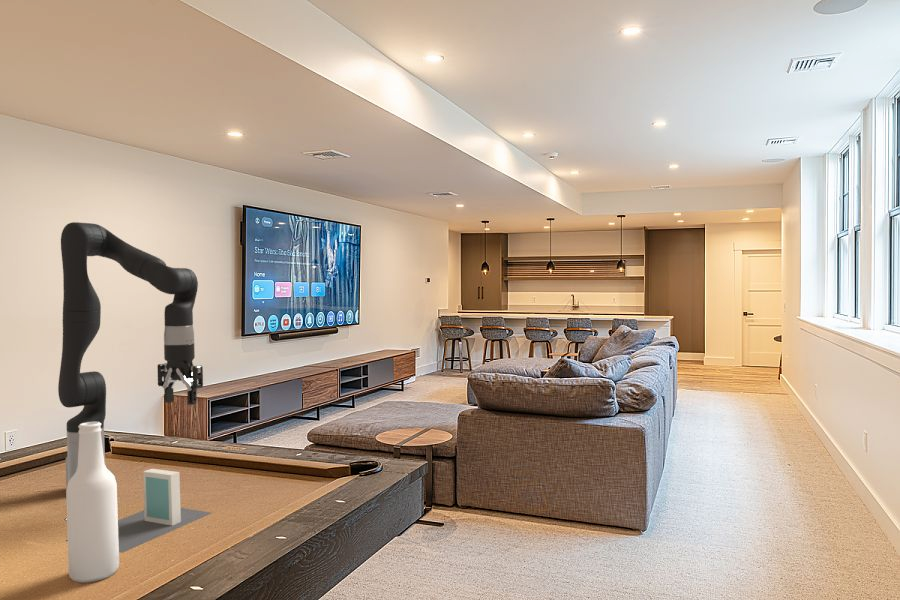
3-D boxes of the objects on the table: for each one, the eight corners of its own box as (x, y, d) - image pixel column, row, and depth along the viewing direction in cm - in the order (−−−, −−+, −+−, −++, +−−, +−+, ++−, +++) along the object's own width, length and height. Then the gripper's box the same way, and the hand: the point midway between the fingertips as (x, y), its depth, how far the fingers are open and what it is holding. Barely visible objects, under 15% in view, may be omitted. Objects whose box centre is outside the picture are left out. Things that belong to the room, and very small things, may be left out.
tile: (144, 520, 158) (142, 471, 158) (153, 517, 161) (151, 468, 160) (171, 525, 154) (170, 475, 154) (180, 521, 157) (179, 472, 157)
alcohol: (66, 587, 124) (60, 430, 123) (72, 569, 132) (67, 421, 131) (117, 578, 127) (113, 425, 127) (120, 561, 136) (116, 417, 135)
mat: (65, 542, 146) (65, 540, 146) (159, 505, 170) (159, 504, 170) (122, 554, 139) (122, 552, 139) (212, 514, 163) (212, 512, 163)
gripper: (148, 342, 175) (149, 404, 175) (188, 344, 169) (190, 407, 169) (170, 340, 182) (171, 399, 182) (210, 341, 176) (211, 402, 176)
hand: (180, 403), depth 176 cm, fingers open, 7 cm apart
